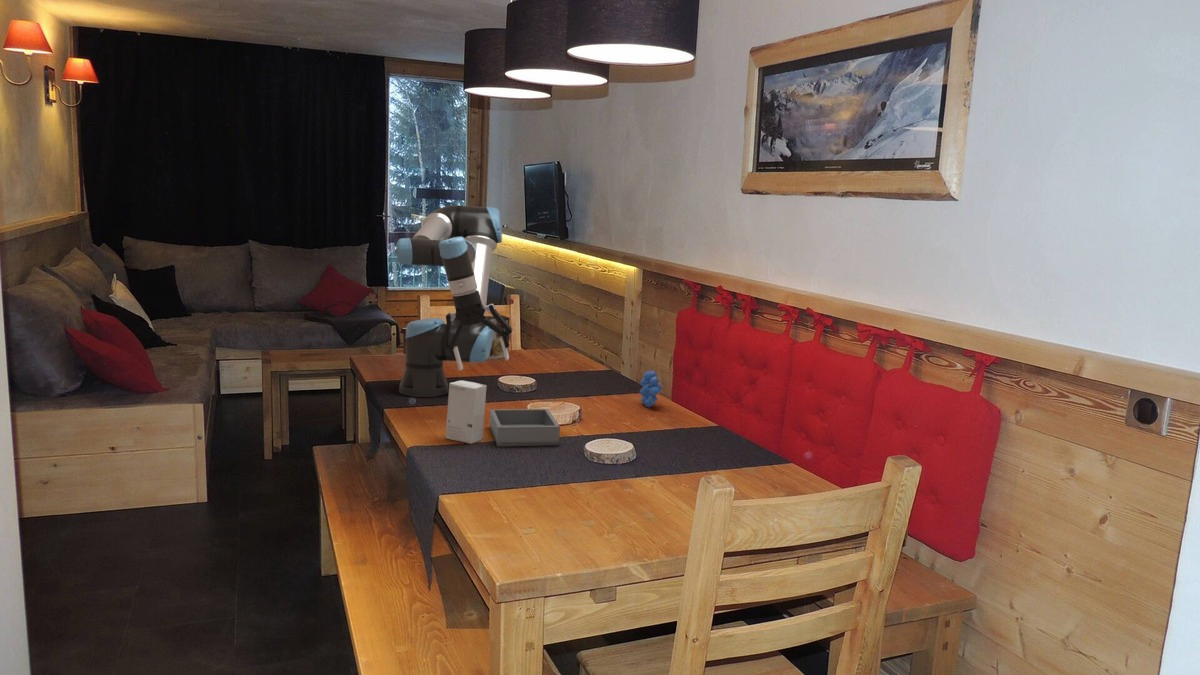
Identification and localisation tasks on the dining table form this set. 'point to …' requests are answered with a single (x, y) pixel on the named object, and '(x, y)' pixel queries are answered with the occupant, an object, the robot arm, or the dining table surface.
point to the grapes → (650, 388)
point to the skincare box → (465, 411)
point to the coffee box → (497, 340)
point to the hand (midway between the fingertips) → (484, 364)
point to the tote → (524, 427)
